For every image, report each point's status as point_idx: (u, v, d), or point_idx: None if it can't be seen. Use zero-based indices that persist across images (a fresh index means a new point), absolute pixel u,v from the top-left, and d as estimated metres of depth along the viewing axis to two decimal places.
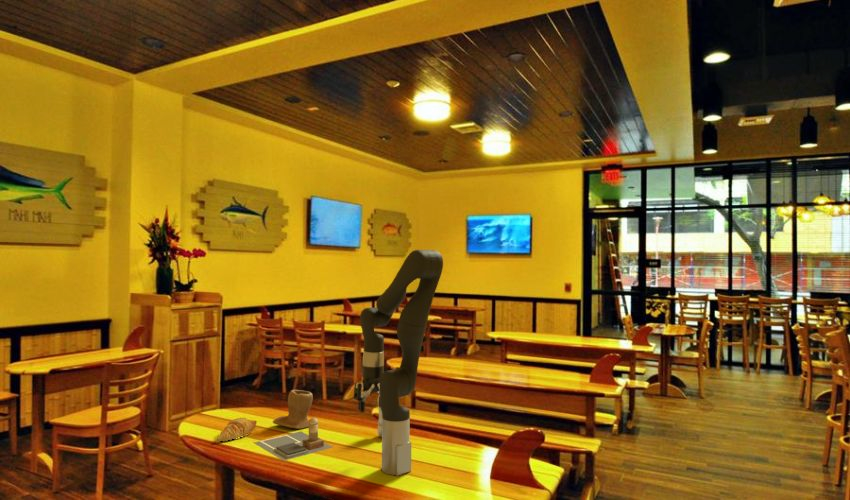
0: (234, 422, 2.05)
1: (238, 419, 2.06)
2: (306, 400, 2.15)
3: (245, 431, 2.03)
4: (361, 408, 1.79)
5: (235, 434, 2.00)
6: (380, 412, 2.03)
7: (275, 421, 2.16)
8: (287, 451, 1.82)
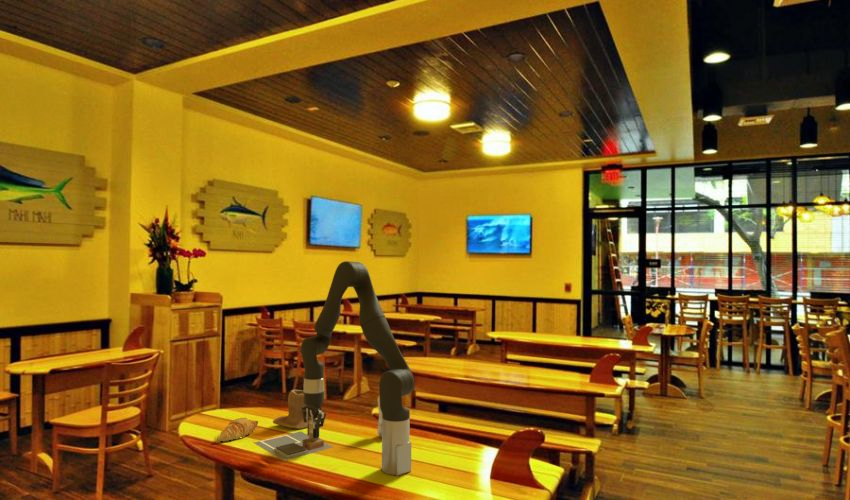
0: (235, 422, 2.05)
1: (239, 419, 2.06)
2: None
3: (245, 431, 2.03)
4: None
5: (235, 434, 1.99)
6: (380, 412, 2.03)
7: (275, 421, 2.16)
8: (287, 451, 1.82)
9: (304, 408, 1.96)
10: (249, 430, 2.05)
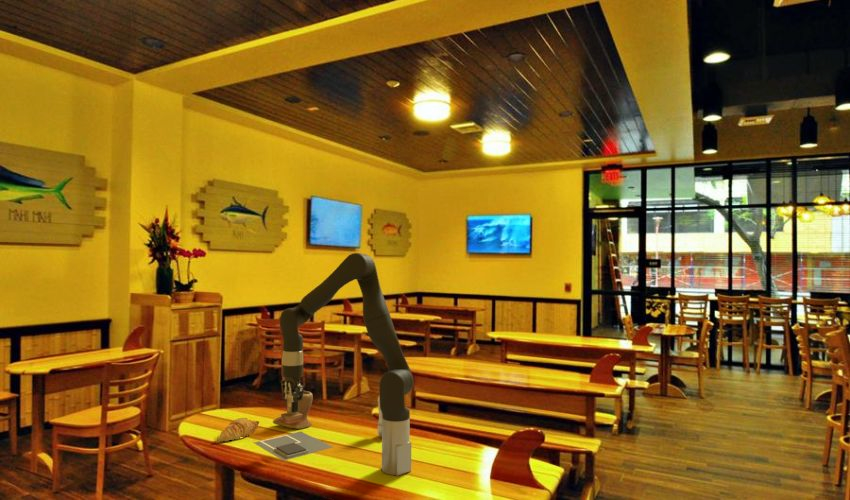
0: (235, 422, 2.05)
1: (239, 419, 2.06)
2: (306, 400, 2.15)
3: (245, 432, 2.03)
4: None
5: (235, 435, 1.99)
6: (380, 412, 2.03)
7: (275, 421, 2.16)
8: (287, 451, 1.82)
9: (283, 382, 1.90)
10: (249, 430, 2.05)
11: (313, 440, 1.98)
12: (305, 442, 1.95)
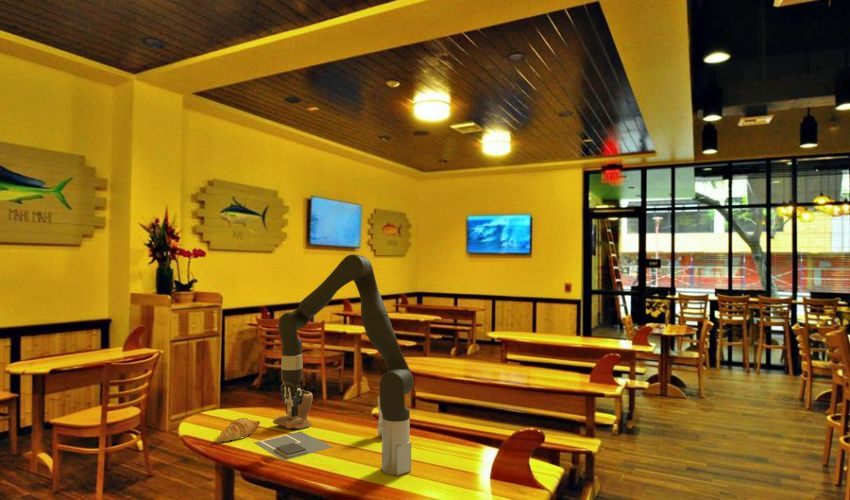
0: (235, 422, 2.04)
1: (240, 419, 2.05)
2: (306, 400, 2.15)
3: (246, 432, 2.02)
4: None
5: (235, 435, 1.99)
6: (380, 412, 2.03)
7: (275, 421, 2.16)
8: (287, 451, 1.82)
9: (282, 386, 1.90)
10: (250, 430, 2.04)
11: (313, 440, 1.98)
12: (305, 442, 1.95)
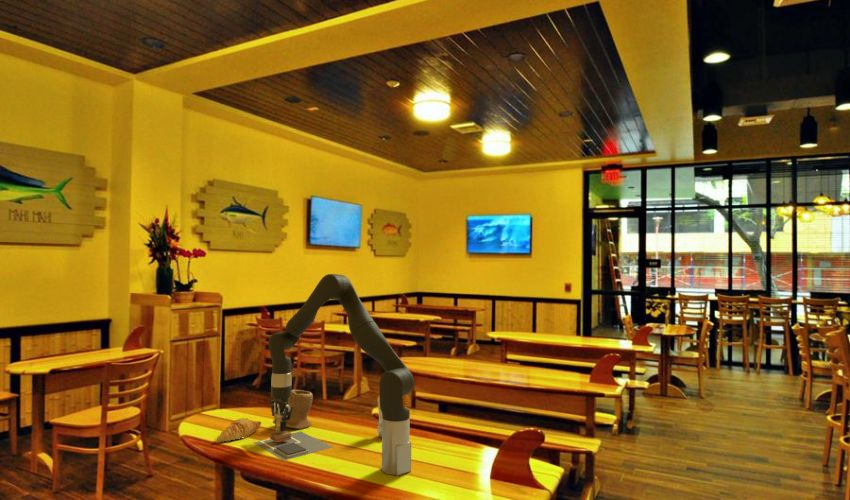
0: (236, 422, 2.04)
1: (240, 420, 2.05)
2: (306, 400, 2.15)
3: (246, 432, 2.02)
4: (285, 427, 1.95)
5: (234, 435, 1.99)
6: (380, 412, 2.03)
7: None
8: (287, 451, 1.82)
9: (272, 402, 2.00)
10: (250, 431, 2.04)
11: (313, 440, 1.98)
12: (305, 442, 1.95)
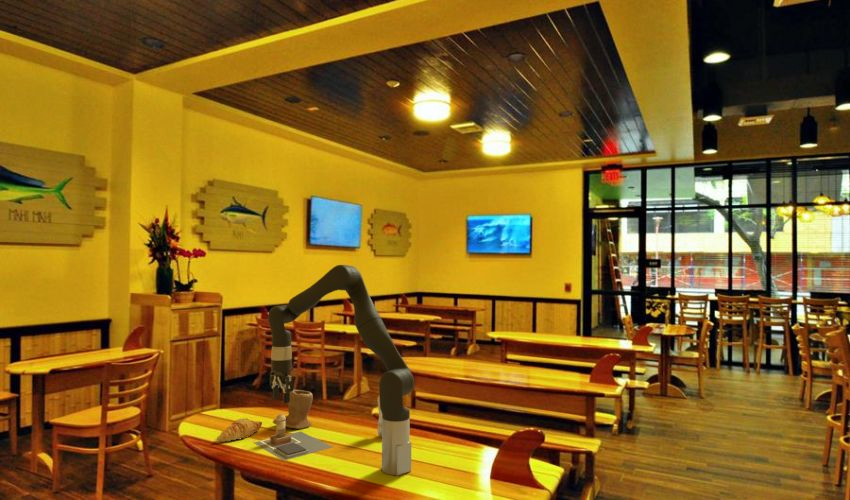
0: (236, 423, 2.04)
1: (241, 420, 2.05)
2: (306, 400, 2.15)
3: (246, 432, 2.02)
4: None
5: (234, 435, 1.98)
6: (380, 412, 2.03)
7: (275, 421, 2.16)
8: (287, 451, 1.82)
9: (272, 373, 2.00)
10: (250, 431, 2.04)
11: (313, 440, 1.98)
12: (305, 442, 1.95)
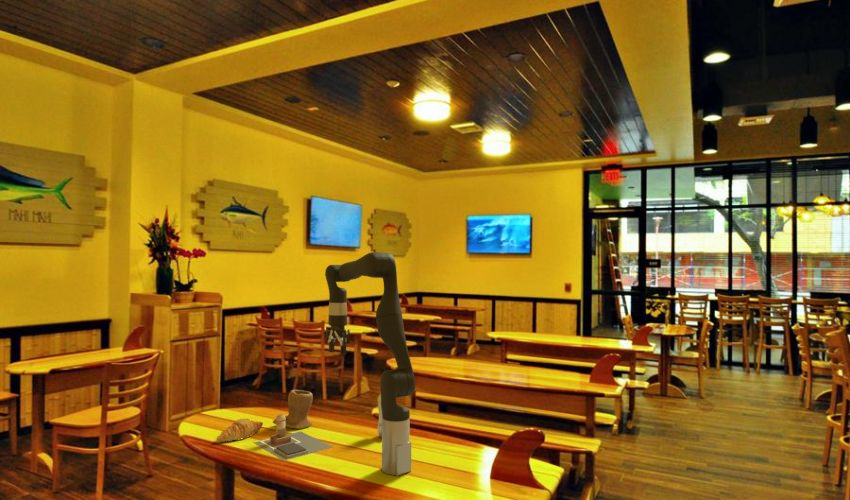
0: (236, 423, 2.04)
1: (241, 420, 2.05)
2: (306, 400, 2.15)
3: (246, 433, 2.01)
4: None
5: (234, 435, 1.98)
6: (380, 412, 2.03)
7: (275, 421, 2.16)
8: (287, 451, 1.82)
9: (328, 328, 2.14)
10: (250, 431, 2.03)
11: (313, 440, 1.98)
12: (305, 442, 1.95)
